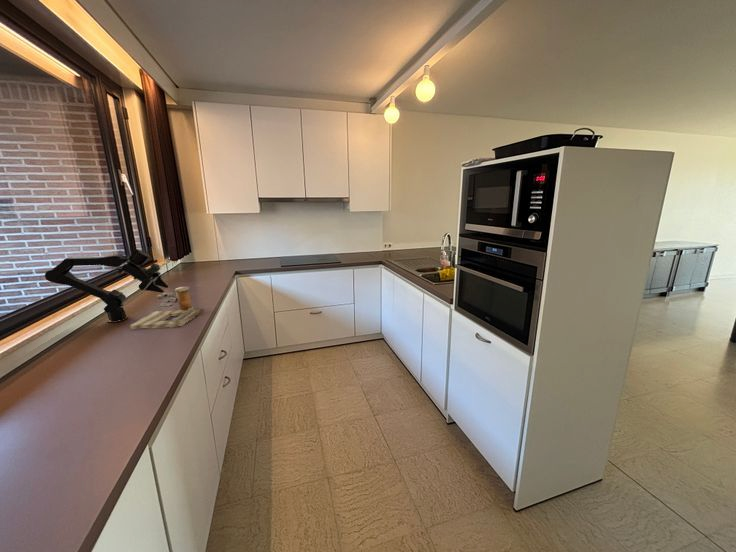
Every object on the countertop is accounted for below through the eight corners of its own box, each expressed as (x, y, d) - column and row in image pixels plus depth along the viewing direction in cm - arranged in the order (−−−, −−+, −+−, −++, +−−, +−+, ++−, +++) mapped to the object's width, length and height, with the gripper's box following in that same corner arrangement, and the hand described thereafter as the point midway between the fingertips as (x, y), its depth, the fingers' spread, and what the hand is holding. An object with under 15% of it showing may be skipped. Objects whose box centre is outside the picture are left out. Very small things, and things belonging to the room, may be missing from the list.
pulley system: (183, 293, 204) (156, 297, 195) (183, 286, 203) (155, 290, 194) (190, 304, 183) (161, 309, 174) (190, 297, 182) (160, 302, 173)
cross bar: (172, 322, 146) (171, 319, 146) (190, 310, 162) (189, 307, 162) (176, 322, 147) (175, 319, 146) (193, 310, 162) (193, 307, 162)
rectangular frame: (130, 329, 146) (129, 325, 145) (155, 315, 163) (154, 311, 163) (181, 326, 146) (180, 323, 146) (200, 313, 164) (199, 309, 163)
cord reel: (177, 313, 165) (172, 290, 162) (183, 308, 171) (179, 286, 168) (189, 312, 165) (184, 289, 162) (195, 308, 171) (191, 286, 168)
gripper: (140, 263, 148) (171, 282, 154) (152, 256, 165) (179, 274, 171) (125, 281, 147) (156, 299, 154) (138, 272, 164) (166, 289, 171)
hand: (165, 289), depth 162 cm, fingers open, 9 cm apart
